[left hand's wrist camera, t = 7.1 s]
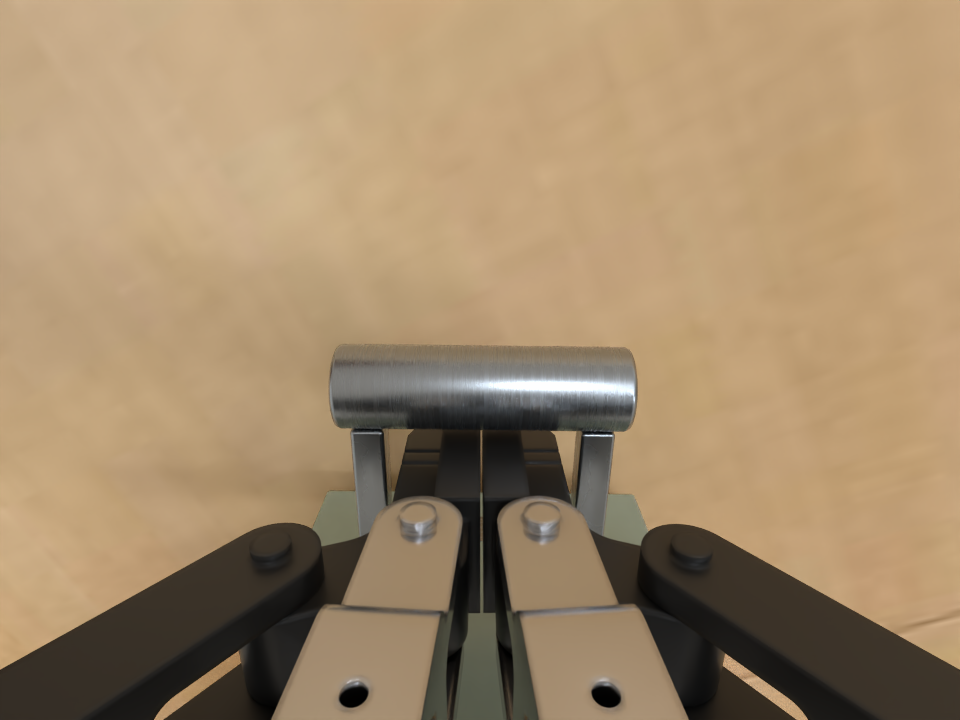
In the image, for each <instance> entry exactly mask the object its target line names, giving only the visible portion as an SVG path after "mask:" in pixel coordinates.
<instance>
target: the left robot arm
mask: <svg viewBox="0 0 960 720" xmlns="http://www.w3.org/2000/svg"><path fill="white" fill-rule="evenodd" d="M482 504H483V613H495V616H496V663H497V671H498V679H499V687H500V696H501V704H502V712H503V720H796V719H795V718H793V717H792V716H791V715H789V714H788V713H786V712H785V711H784V710H782V709H781V708H780V707H778V706H777V705H776V704H774V703H773V702H771V701H770V700H769V699H767V698H766V697H765V696H763V695H762V694H760V693H759V692H758V691H756V690H755V689H754V688H752V687H751V686H749V685H748V684H747V683H745V682H744V681H743V680H741V679H740V678H738V677H737V676H736V675H734V674H733V673H732V672H730V671H729V670H728V669H726V668H725V667H723V661H724V656H725V653H726V654H727V655H729V656H730V657H731V658H733V659H734V660H736V661H737V662H738V663H740V664H741V665H743V666H744V667H745V668H747V669H748V670H750V671H751V672H753V673H754V674H755V675H757V676H758V677H760V678H761V679H762V680H764V681H765V682H767V683H768V684H769V685H771V686H772V687H774V688H775V689H776V690H778V691H779V692H781V693H782V694H784V695H785V696H786V697H788V698H789V699H790V700H792V701H793V702H794V703H795V704H796V705H797V706H798V707H799V708H800V709H801V710H802V711H803V713H804V714H805V716H806V717H807V719H808V720H960V670H959V669H957V668H956V667H954V666H952V665H950V664H948V663H947V662H945V661H943V660H941V659H939V658H938V657H936V656H934V655H932V654H930V653H929V652H927V651H925V650H923V649H921V648H920V647H918V646H916V645H914V644H912V643H911V642H909V641H907V640H905V639H903V638H902V637H900V636H898V635H896V634H894V633H893V632H891V631H889V630H887V629H885V628H884V627H882V626H880V625H878V624H876V623H874V622H873V621H871V620H869V619H867V618H865V617H864V616H862V615H860V614H858V613H856V612H855V611H853V610H851V609H849V608H847V607H846V606H844V605H842V604H840V603H838V602H837V601H835V600H833V599H831V598H829V597H828V596H826V595H824V594H822V593H820V592H819V591H817V590H815V589H813V588H811V587H810V586H808V585H806V584H804V583H802V582H801V581H799V580H797V579H795V578H793V577H792V576H790V575H788V574H786V573H784V572H783V571H781V570H779V569H777V568H775V567H774V566H772V565H770V564H768V563H766V562H765V561H763V560H761V559H759V558H757V557H756V556H754V555H752V554H750V553H748V552H747V551H745V550H743V549H741V548H739V547H738V546H736V545H734V544H732V543H730V542H729V541H727V540H725V539H723V538H721V537H720V536H718V535H716V534H714V533H712V532H710V531H707V530H705V529H702V528H698V527H695V526H690V525H683V524H668V525H662V526H659V527H656V528H654V529H652V530H650V531H649V532H647V533H646V534H645V536H644V537H643V539H642V542H641V546H639V545H635V544H630V543H626V542H621V541H617V540H613V539H610V538H607V537H604V536H602V535H599V534H597V533H595V532H594V531H592V530H590V529H589V528H588V525H587V522H586V520H585V518H584V516H583V514H582V513H581V512H580V511H579V510H578V509H577V508H576V507H574V506H573V505H572V503H571V498H570V494H569V490H568V486H567V482H566V478H565V474H564V470H563V466H562V465H561V458H560V454H559V453H558V446H557V442H556V438H555V435H554V434H553V433H552V432H551V431H529V430H482ZM468 613H480V430H443V429H415V430H414V431H413V432H411V433H410V434H409V435H408V438H407V442H406V447H405V453H404V455H403V459H402V465H401V468H400V472H399V476H398V480H397V485H396V489H395V493H394V497H393V501H392V503H390V504H389V505H387V506H386V507H384V508H383V509H382V510H381V511H380V512H379V513H378V514H377V516H376V518H375V520H374V522H373V525H372V527H371V530H370V532H369V533H367V534H365V535H363V536H360V537H358V538H355V539H352V540H348V541H344V542H339V543H335V544H330V545H326V546H321V540H320V538H319V536H318V534H317V533H316V532H315V531H314V530H312V529H311V528H309V527H307V526H304V525H301V524H295V523H277V524H271V525H267V526H263V527H260V528H257V529H254V530H252V531H250V532H248V533H246V534H244V535H242V536H240V537H239V538H237V539H235V540H233V541H231V542H230V543H228V544H226V545H224V546H222V547H221V548H219V549H217V550H215V551H213V552H212V553H210V554H208V555H206V556H204V557H203V558H201V559H199V560H197V561H195V562H194V563H192V564H190V565H188V566H186V567H185V568H183V569H181V570H179V571H177V572H176V573H174V574H172V575H170V576H168V577H167V578H165V579H163V580H161V581H159V582H158V583H156V584H154V585H152V586H150V587H149V588H147V589H145V590H143V591H141V592H140V593H138V594H136V595H134V596H132V597H131V598H129V599H127V600H125V601H123V602H122V603H120V604H118V605H116V606H114V607H112V608H111V609H109V610H107V611H105V612H103V613H102V614H100V615H98V616H96V617H94V618H93V619H91V620H89V621H87V622H85V623H84V624H82V625H80V626H78V627H76V628H75V629H73V630H71V631H69V632H67V633H66V634H64V635H62V636H60V637H58V638H57V639H55V640H53V641H51V642H49V643H48V644H46V645H44V646H42V647H40V648H39V649H37V650H35V651H33V652H31V653H30V654H28V655H26V656H24V657H22V658H21V659H19V660H17V661H15V662H13V663H12V664H10V665H8V666H6V667H4V668H3V669H1V670H0V720H154V719H155V717H156V715H157V714H158V712H159V711H160V709H161V708H162V707H163V706H164V705H165V704H166V703H167V702H168V701H169V700H170V699H171V698H173V697H174V696H175V695H176V694H178V693H179V692H181V691H182V690H183V689H185V688H186V687H188V686H189V685H191V684H192V683H193V682H195V681H196V680H198V679H199V678H200V677H202V676H203V675H205V674H206V673H207V672H209V671H210V670H212V669H213V668H214V667H216V666H217V665H219V664H220V663H222V662H223V661H224V660H226V659H227V658H229V657H230V656H231V655H233V654H234V653H236V652H237V651H238V650H239V654H240V659H241V664H239V665H238V666H237V667H235V668H234V669H232V670H231V671H230V672H228V673H227V674H226V675H224V676H223V677H221V678H220V679H219V680H217V681H216V682H215V683H213V684H212V685H211V686H209V687H208V688H206V689H205V690H204V691H202V692H201V693H200V694H198V695H197V696H195V697H194V698H193V699H191V700H190V701H189V702H187V703H186V704H184V705H183V706H182V707H180V708H179V709H178V710H176V711H175V712H173V713H172V714H171V715H169V716H168V717H167V718H165V719H164V720H457V712H458V704H459V695H460V687H461V679H462V670H463V662H464V642H465V640H466V637H467V633H468Z"/></svg>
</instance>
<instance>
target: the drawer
mask: <svg viewBox="0 0 960 720" xmlns="http://www.w3.org/2000/svg"><path fill="white" fill-rule="evenodd" d="M637 399H638V380H637V371H636V365H635V362H634V358H633V355H632V353H631V351H630V350H629V349H627V348H624V347H558V346H471V345H384V344H342V345H340V346H338V347H337V348H336V350H335V352H334V355H333V358H332V362H331V367H330V374H329V404H330V411H331V415H332V418H333V421H334V423H335V425H336V426H337V427H340V428H352V430H351V433H350V434H351V446H352V458H353V470H354V482H355V491H328V492H327V495H326V497H325V499H324V502H323V504H322V506H321V509H320V511H319V514H318V516H317V518H316V521H315V523H314V525H313V528H312V530H314V531H315V532H316V533H317V534H318V536H319V538H320V540H321V546H326V545H330V544H335V543H339V542H344V541H348V540H352V539H355V538H358V537H360V536H363V535H365V534H367V533H369V532H370V530H371V527H372V525H373V522H374V520H375V518H376V516H377V514H378V513H379V512H380V511H381V510H382V509H383V508H384V507H386V506H387V505H389V504H390V503H392V501H393V497H394V493H395V491H392V485H391V467H390V449H389V431H388V429H443V430H529V431H576V441H575V453H574V465H573V477H572V489H571V494H570V498H571V503H572V505H573V506H574V507H576V508H577V509H578V510H579V511H580V512H581V513H582V514H583V516H584V518H585V520H586V522H587V525H588V528H589V529H590V530H592V531H594V532H595V533H597V534H599V535H602V536H604V537H607V538H610V539H613V540H617V541H621V542H626V543H630V544H635V545H639V546H641V542H642V539H643V537H644V536H645V534H646V533H647V532H648V529H647V527H646V524H645V522H644V519H643V517H642V514H641V512H640V509H639V507H638V504H637V502H636V500H635V497H634V495H632V494H608V492H609V484H610V475H611V466H612V457H613V448H614V439H615V435H614V432H613V431H615V432H624V431H626V430H629V429H630V428H631V426H632V424H633V421H634V418H635V414H636V408H637ZM457 720H503V712H502V704H501V696H500V687H499V679H498V671H497V663H496V616H495V613H483V504H482V492H480V613H468V633H467V637H466V640H465V642H464V662H463V670H462V679H461V687H460V695H459V704H458V712H457Z"/></svg>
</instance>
